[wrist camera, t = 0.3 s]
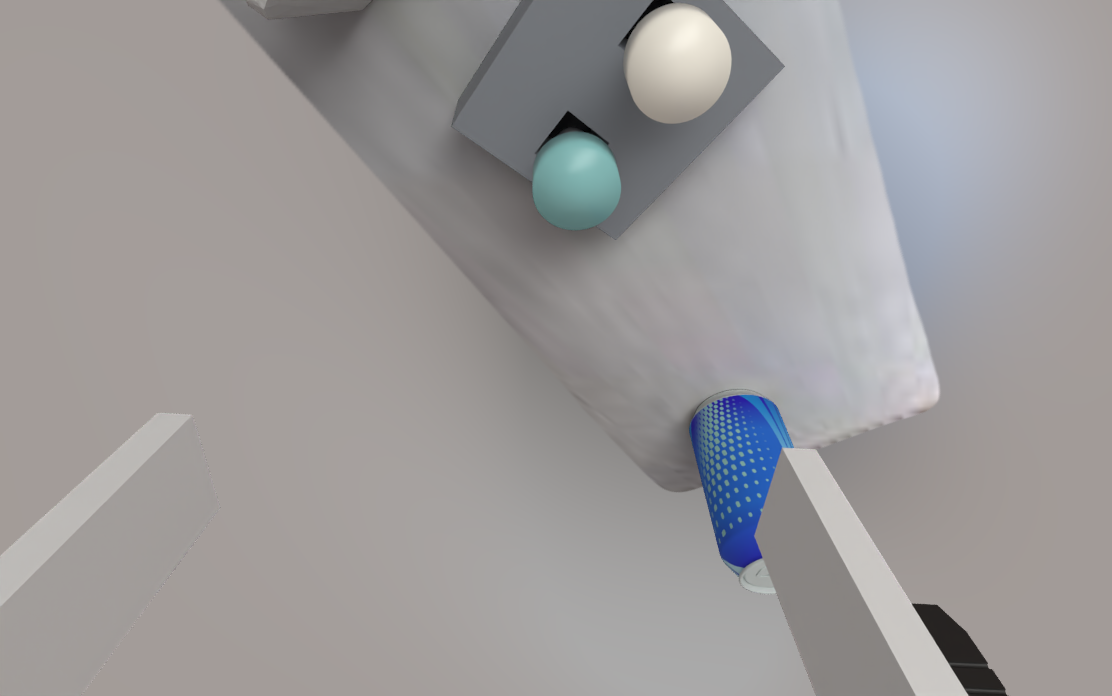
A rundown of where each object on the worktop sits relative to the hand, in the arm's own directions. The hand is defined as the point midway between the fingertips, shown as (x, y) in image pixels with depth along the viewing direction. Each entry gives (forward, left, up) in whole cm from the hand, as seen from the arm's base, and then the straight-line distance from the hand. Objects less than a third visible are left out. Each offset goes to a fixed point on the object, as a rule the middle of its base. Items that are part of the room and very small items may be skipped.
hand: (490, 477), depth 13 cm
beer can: (+13, +34, -27) cm, 45 cm away
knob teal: (0, +4, -23) cm, 24 cm away
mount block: (-3, +4, -27) cm, 28 cm away
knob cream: (-7, +4, -23) cm, 25 cm away
